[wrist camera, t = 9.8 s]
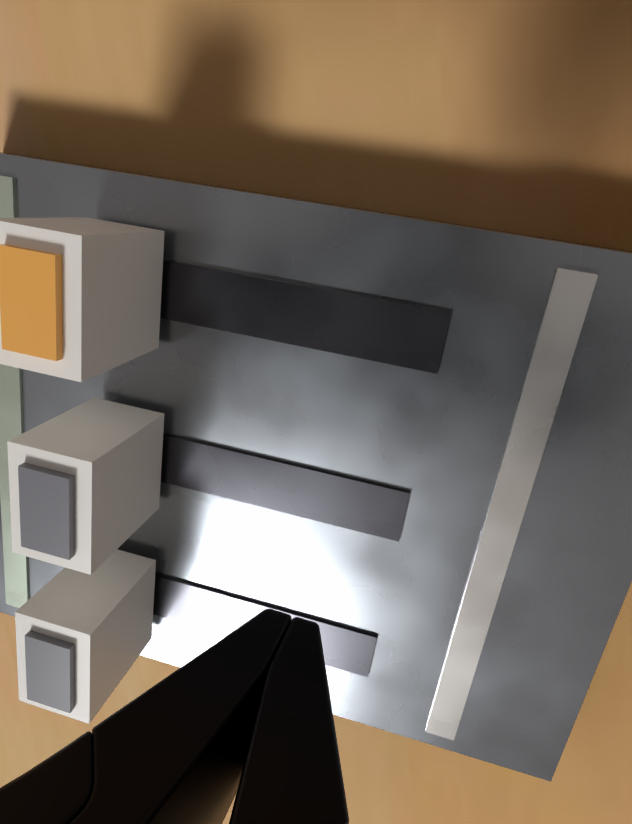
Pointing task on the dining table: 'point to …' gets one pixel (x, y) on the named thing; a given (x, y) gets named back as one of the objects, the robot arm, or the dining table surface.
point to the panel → (370, 449)
